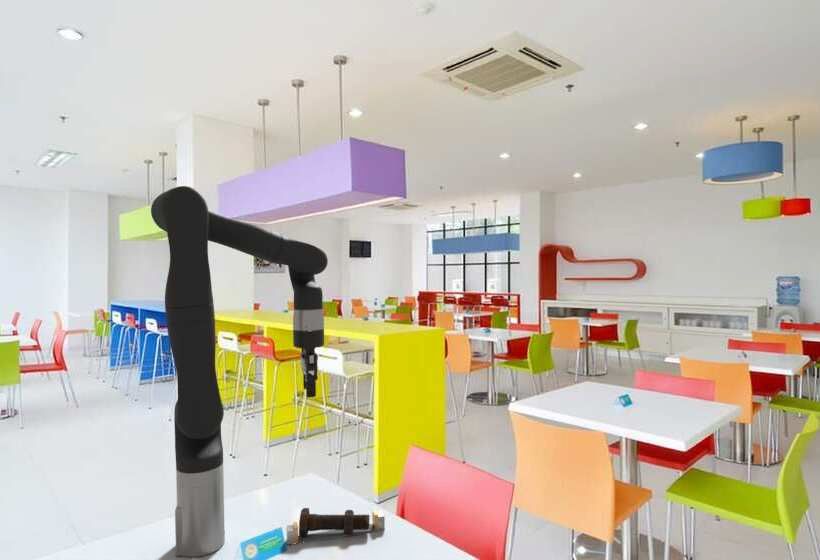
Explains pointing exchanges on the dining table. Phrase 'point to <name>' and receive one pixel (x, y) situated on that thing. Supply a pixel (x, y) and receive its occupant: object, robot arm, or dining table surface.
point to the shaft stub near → (292, 533)
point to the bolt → (332, 522)
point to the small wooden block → (378, 520)
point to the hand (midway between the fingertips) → (309, 392)
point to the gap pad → (331, 534)
